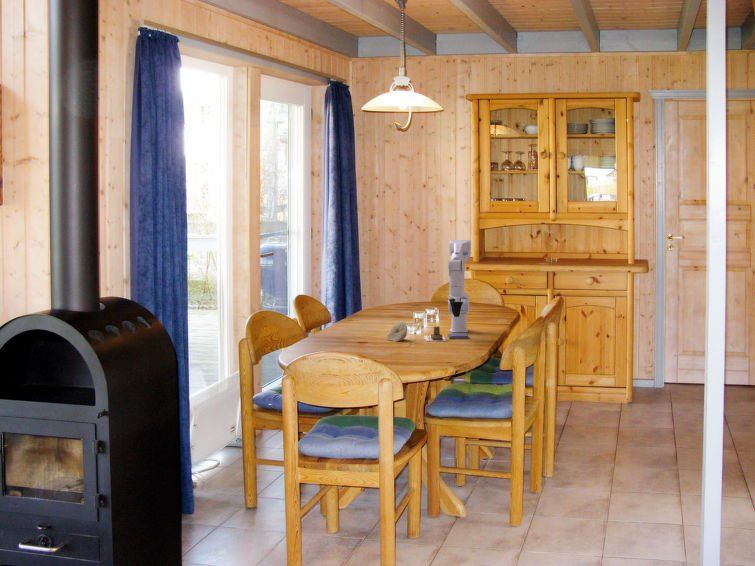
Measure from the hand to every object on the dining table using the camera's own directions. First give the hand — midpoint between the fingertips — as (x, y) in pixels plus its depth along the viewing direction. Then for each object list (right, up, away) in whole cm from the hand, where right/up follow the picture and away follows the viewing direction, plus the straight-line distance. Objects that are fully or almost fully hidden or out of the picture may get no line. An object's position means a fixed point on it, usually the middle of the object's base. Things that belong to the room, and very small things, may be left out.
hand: (455, 315), depth 428 cm
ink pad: (+1, -10, 0) cm, 10 cm away
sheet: (-10, -10, -2) cm, 14 cm away
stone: (-27, -11, -5) cm, 29 cm away
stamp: (-9, -10, -5) cm, 15 cm away
